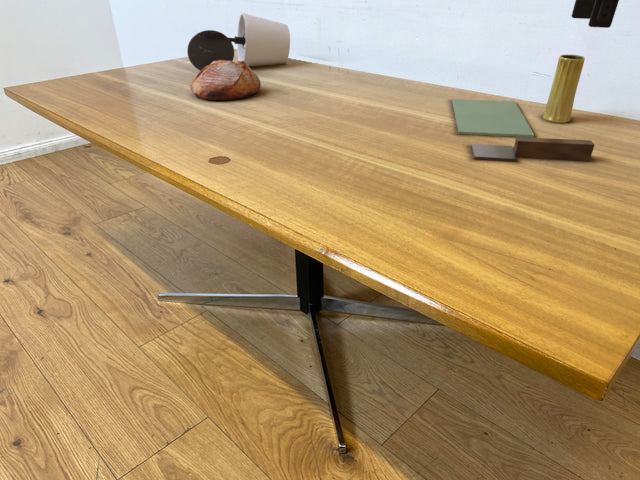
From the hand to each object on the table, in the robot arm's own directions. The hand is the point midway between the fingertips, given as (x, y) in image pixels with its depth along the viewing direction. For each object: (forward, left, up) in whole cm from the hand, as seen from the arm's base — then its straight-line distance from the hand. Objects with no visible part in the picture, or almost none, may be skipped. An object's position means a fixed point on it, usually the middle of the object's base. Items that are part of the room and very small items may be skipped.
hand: (589, 22), depth 80 cm
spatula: (+4, -3, -25) cm, 25 cm away
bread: (+80, -39, -25) cm, 92 cm away
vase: (-7, -28, -25) cm, 38 cm away
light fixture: (+86, -72, -25) cm, 115 cm away
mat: (+9, -27, -25) cm, 38 cm away
